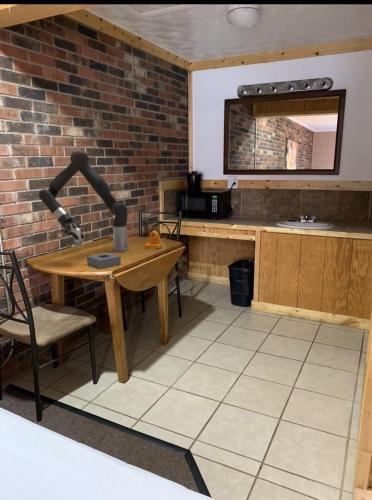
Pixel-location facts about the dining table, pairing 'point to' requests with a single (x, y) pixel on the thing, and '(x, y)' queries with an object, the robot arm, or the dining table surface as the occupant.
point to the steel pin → (78, 232)
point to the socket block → (103, 260)
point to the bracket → (154, 241)
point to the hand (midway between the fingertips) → (80, 238)
